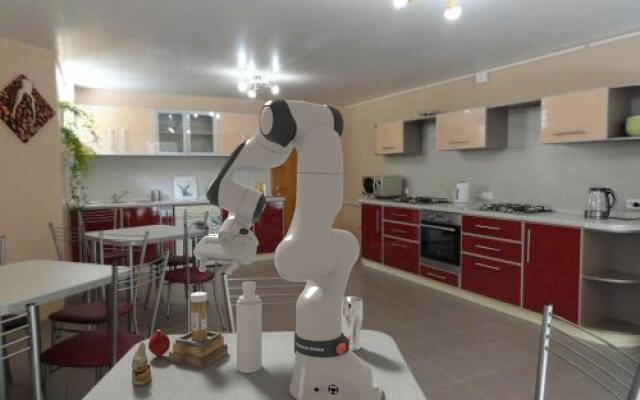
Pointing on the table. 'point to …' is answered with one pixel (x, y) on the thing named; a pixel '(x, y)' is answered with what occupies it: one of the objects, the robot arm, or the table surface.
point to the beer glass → (352, 320)
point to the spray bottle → (249, 329)
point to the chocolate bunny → (140, 367)
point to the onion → (159, 343)
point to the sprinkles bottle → (198, 316)
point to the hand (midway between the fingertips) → (214, 272)
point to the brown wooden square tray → (198, 350)
